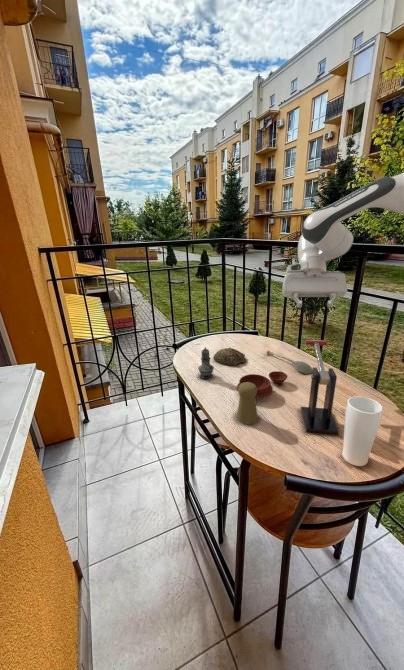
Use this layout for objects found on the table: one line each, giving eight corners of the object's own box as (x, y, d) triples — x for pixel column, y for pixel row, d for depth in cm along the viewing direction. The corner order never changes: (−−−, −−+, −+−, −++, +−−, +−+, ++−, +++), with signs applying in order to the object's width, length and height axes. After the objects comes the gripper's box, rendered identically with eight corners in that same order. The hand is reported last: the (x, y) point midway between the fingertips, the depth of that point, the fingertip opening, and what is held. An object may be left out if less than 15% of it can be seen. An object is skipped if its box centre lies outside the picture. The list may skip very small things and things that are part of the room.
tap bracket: (300, 410, 84) (305, 362, 78) (329, 412, 82) (336, 363, 77) (305, 432, 75) (311, 380, 69) (338, 435, 73) (346, 382, 68)
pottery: (229, 391, 95) (229, 379, 94) (271, 374, 105) (272, 363, 104) (253, 407, 86) (253, 395, 84) (297, 387, 96) (298, 376, 94)
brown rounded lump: (209, 359, 119) (209, 348, 117) (229, 350, 127) (229, 340, 125) (231, 369, 110) (231, 357, 108) (251, 359, 118) (252, 348, 116)
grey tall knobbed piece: (195, 376, 105) (193, 347, 101) (205, 371, 109) (204, 342, 105) (206, 381, 102) (205, 351, 97) (217, 375, 106) (216, 346, 101)
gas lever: (304, 343, 86) (305, 337, 85) (325, 344, 85) (327, 338, 83) (311, 384, 74) (313, 378, 72) (336, 385, 73) (337, 379, 71)
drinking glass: (376, 460, 65) (389, 405, 60) (361, 475, 61) (373, 418, 56) (348, 444, 70) (357, 392, 65) (332, 456, 66) (341, 402, 61)
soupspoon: (303, 377, 103) (315, 373, 106) (305, 369, 102) (316, 365, 105) (262, 355, 121) (273, 352, 124) (263, 348, 119) (274, 345, 123)
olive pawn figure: (236, 410, 85) (237, 378, 81) (257, 411, 84) (258, 379, 80) (236, 423, 79) (236, 390, 75) (258, 425, 78) (259, 390, 74)
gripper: (342, 276, 97) (346, 311, 92) (281, 277, 101) (281, 311, 95) (347, 265, 91) (352, 301, 86) (282, 266, 95) (283, 301, 90)
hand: (314, 306), depth 91 cm, fingers open, 8 cm apart
